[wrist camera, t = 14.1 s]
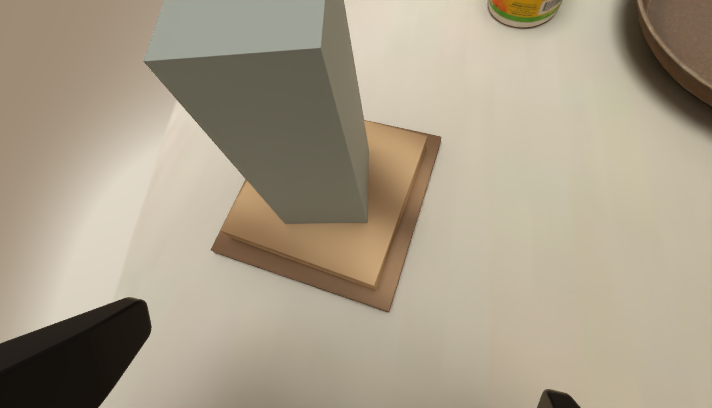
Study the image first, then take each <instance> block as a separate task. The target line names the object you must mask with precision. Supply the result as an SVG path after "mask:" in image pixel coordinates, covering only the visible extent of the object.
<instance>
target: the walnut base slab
mask: <svg viewBox="0 0 712 408" xmlns="http://www.w3.org/2000/svg"><path fill="white" fill-rule="evenodd" d="M364 121H366V120H364ZM368 122H371V121H368ZM372 123H375V122H372ZM376 124H380V123H376ZM380 125H384V126H388V127H393V128H397V129H401V130H405V131H409V132H413V133H417V134H421V135H425V136H427V144H426V150H425V153H424V155H423V158H422V161H421V164H420V167H419V170H418V173H417V175H416V178H415V181H414V184H413V187H412V190H411V193H410V195H409V198H408V201H407V204H406V207H405V210H404V212H403V215H402V218H401V221H400V224H399V227H398V230H397V232H396V235H395V238H394V241H393V244H392V247H391V249H390V252H389V255H388V258H387V261H386V264H385V267H384V269H383V272H382V275H381V278H380V281H379V284H378V286H377V289H376V290H373V289H370V288H368V287H365V286H362V285H359V284H357V283H354V282H351V281H348V280H346V279H343V278H340V277H337V276H335V275H332V274H329V273H326V272H324V271H321V270H318V269H315V268H313V267H310V266H307V265H304V264H302V263H299V262H296V261H293V260H290V259H288V258H285V257H282V256H279V255H277V254H274V253H271V252H268V251H266V250H263V249H260V248H257V247H255V246H252V245H249V244H246V243H244V242H241V241H238V240H235V239H233V238H230V237H229V236H228V235H226V234H225V233H223V232H222V231H221V230H220V232H219V234H218V236H217V238H216V240H215V242H214V244H213V246H212V248H211V251H213V252H215V253H218V254H221V255H224V256H227V257H229V258H232V259H235V260H238V261H241V262H244V263H247V264H250V265H253V266H256V267H259V268H261V269H264V270H267V271H270V272H273V273H276V274H279V275H282V276H285V277H288V278H290V279H293V280H296V281H299V282H302V283H305V284H308V285H311V286H314V287H317V288H320V289H322V290H325V291H328V292H331V293H334V294H337V295H340V296H343V297H346V298H349V299H351V300H354V301H357V302H360V303H363V304H366V305H369V306H372V307H375V308H378V309H381V310H383V311H386V312H389V311H390V307H391V304H392V301H393V297H394V294H395V291H396V288H397V284H398V281H399V278H400V274H401V271H402V268H403V264H404V261H405V258H406V255H407V251H408V248H409V245H410V241H411V238H412V235H413V232H414V228H415V225H416V222H417V218H418V215H419V212H420V208H421V205H422V202H423V199H424V195H425V192H426V189H427V185H428V182H429V179H430V176H431V172H432V169H433V166H434V162H435V159H436V156H437V153H438V149H439V146H440V143H441V137H440V136H435V135H431V134H426V133H422V132H417V131H412V130H408V129H403V128H398V127H394V126H389V125H385V124H380ZM246 181H247V180H245V182H244V184H243V186H242V188H241V190H240V192H239V194H238V196H239V195H240V193H241V191H242V189H243V187H244V185H245V183H246ZM238 196H237V198H238ZM237 198H236V200H237ZM236 200H235V202H236ZM235 202H234V204H235ZM234 204H233V206H234ZM233 206H232V208H233ZM232 208H231V210H232ZM231 210H230V212H231ZM230 212H229V214H230ZM229 214H228V215H229ZM227 217H228V216H227ZM226 219H227V218H226ZM225 221H226V220H225ZM224 223H225V222H224ZM223 225H224V224H223ZM222 227H223V226H222ZM221 229H222V228H221Z"/></svg>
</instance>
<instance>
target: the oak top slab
mask: <svg viewBox="0 0 712 408" xmlns="http://www.w3.org/2000/svg"><path fill="white" fill-rule="evenodd" d="M364 123H365V129H366V135H367V140H368V146H369V174H368V223H306V224H284V222H283V221H282V220H281V219H280V218H279V217H278V215H277V214H276V213H275V212H274V211H273V210H272V209H271V207H270V206H269V205H268V204H267V203H266V202H265V201H264V199H263V198H262V197H261V196H260V195H259V194H258V192H257V191H256V190H255V189H254V188H253V187H252V186H251V184H250V183H249V182H248V181H246V183H245V185H244V187H243V189H242V191H241V193H240V195H239V196H238V198H237V200H236V202H235V204H234V206H233V208H232V210H231V212H230V214H229V215H228V217H227V219H226V221H225V223H224V225H223V227H222V229H221V231H222V232H223V233H225V234H226V235H228V236H229V237H230V238H233V239H235V240H238V241H241V242H244V243H246V244H249V245H252V246H255V247H257V248H260V249H263V250H266V251H268V252H271V253H274V254H277V255H279V256H282V257H285V258H288V259H290V260H293V261H296V262H299V263H302V264H304V265H307V266H310V267H313V268H315V269H318V270H321V271H324V272H326V273H329V274H332V275H335V276H337V277H340V278H343V279H346V280H348V281H351V282H354V283H357V284H359V285H362V286H365V287H368V288H370V289H373V290H376V289H377V286H378V284H379V281H380V278H381V275H382V272H383V269H384V267H385V264H386V261H387V258H388V255H389V252H390V249H391V247H392V244H393V241H394V238H395V235H396V232H397V230H398V227H399V224H400V221H401V218H402V215H403V212H404V210H405V207H406V204H407V201H408V198H409V195H410V193H411V190H412V187H413V184H414V181H415V178H416V175H417V173H418V170H419V167H420V164H421V161H422V158H423V155H424V153H425V150H426V144H427V136H425V135H421V134H417V133H413V132H409V131H405V130H401V129H397V128H393V127H388V126H384V125H380V124H376V123H372V122H368V121H364Z"/></svg>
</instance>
